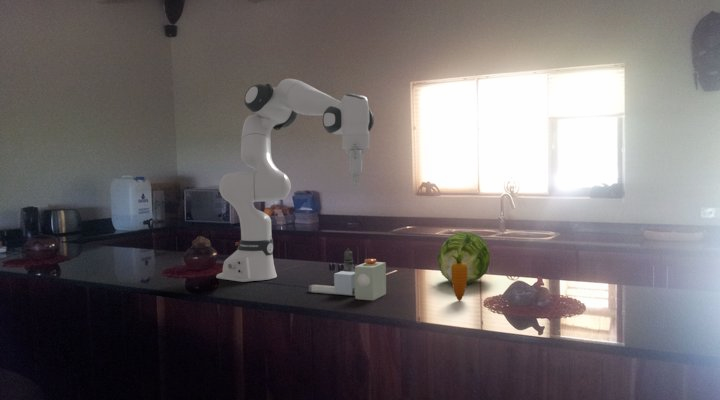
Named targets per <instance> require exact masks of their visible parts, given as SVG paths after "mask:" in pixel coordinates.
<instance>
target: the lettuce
mask: <svg viewBox="0 0 720 400" xmlns="http://www.w3.org/2000/svg"><path fill="white" fill-rule="evenodd" d="M457 250H460V253H461V254H462V253H464V255H463V259H462V261H461V262H462V263H465V264H466V265H467V283H466V285H468V284H471V283H474V282H476V281H478V280H480V279H481V278H483V276H484V275H485V274H486V273H487V271H488V268H489V265H490V253H491V252H490V247H489V246H488V242H487V241H485V239H484V238H483V237H481V235H479V234H476V233H474V232H466V231H460V232H457V233H455V234H452V235H450V236H449V237H448V238H447V239H446V240H445V241H444V242H443V244H442V245H441V247H440V250H439V251H438V254H437V265H438V269H439V270H440V273H441V275H442V276H443V277H444V278H445V279H446V280H447V281H449V282H451V283H452V270H451V267H452V264H453V263H456V262H457V261H456V259H455V258H454V257H452V256H451V255H452V254H453V255H455V256H456V257H458V253H457Z"/></svg>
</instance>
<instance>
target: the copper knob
mask: <svg viewBox="0 0 720 400" xmlns="http://www.w3.org/2000/svg"><path fill="white" fill-rule="evenodd" d="M376 262H377V259H376V258H364V263H366V265H369V266H375V263H376Z"/></svg>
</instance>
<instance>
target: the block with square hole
mask: <svg viewBox="0 0 720 400" xmlns="http://www.w3.org/2000/svg"><path fill="white" fill-rule="evenodd" d="M386 263H387V262H382V261H376V263H375V266H369V265H366V263H365V262H364V263H361V264H358V265H355V266H354V270H355V296H354V299H355V300H365V301H376V300H377V299H379V298H381V297H383V296H385V295H386V294H387V264H386Z"/></svg>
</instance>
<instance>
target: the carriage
mask: <svg viewBox="0 0 720 400" xmlns="http://www.w3.org/2000/svg"><path fill="white" fill-rule="evenodd" d="M333 286H334V290H335V294H334V295H339V294H346V295H345V296H350V295H353V288H355V272H347V271H343V270H340V271H339V272H335V273H334V274H333Z"/></svg>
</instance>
